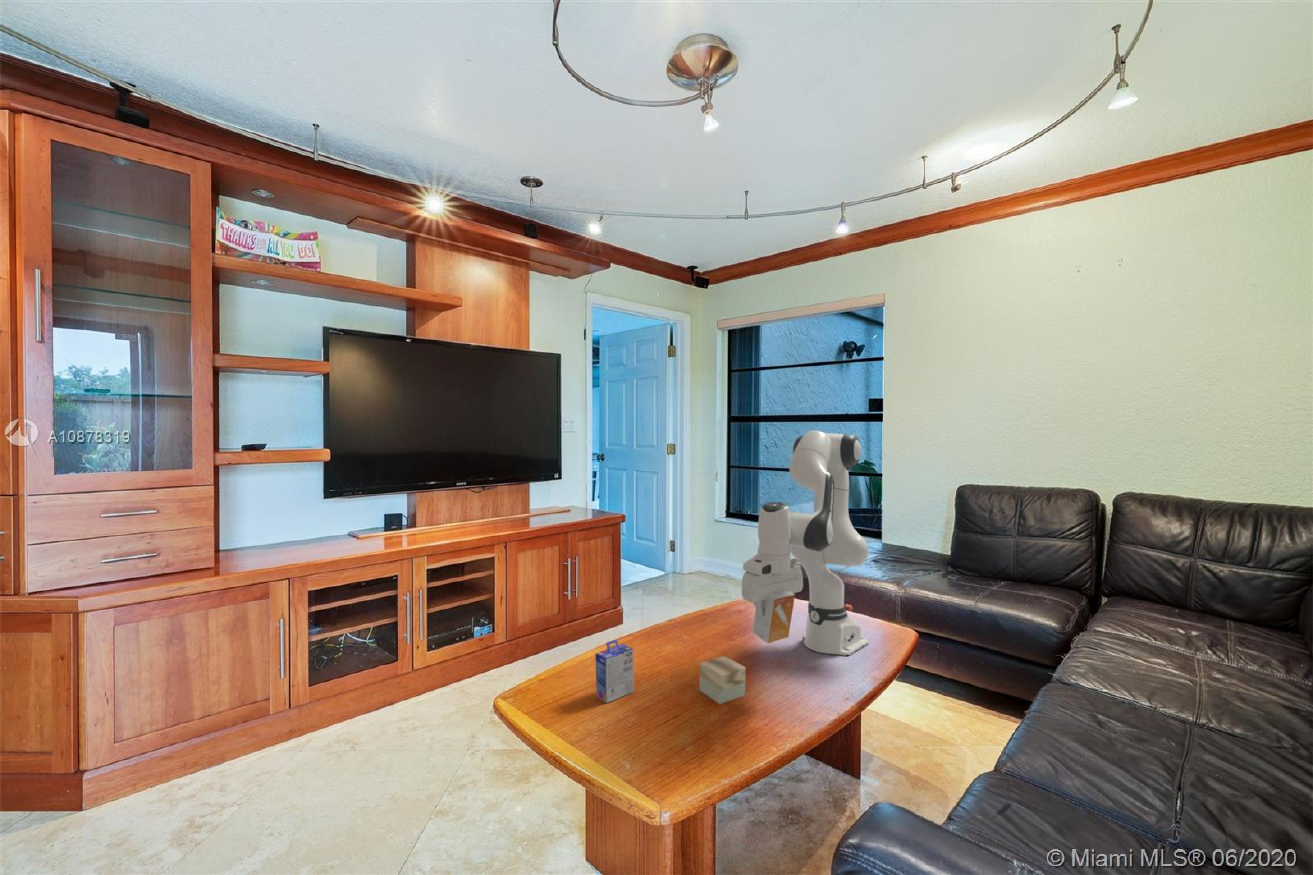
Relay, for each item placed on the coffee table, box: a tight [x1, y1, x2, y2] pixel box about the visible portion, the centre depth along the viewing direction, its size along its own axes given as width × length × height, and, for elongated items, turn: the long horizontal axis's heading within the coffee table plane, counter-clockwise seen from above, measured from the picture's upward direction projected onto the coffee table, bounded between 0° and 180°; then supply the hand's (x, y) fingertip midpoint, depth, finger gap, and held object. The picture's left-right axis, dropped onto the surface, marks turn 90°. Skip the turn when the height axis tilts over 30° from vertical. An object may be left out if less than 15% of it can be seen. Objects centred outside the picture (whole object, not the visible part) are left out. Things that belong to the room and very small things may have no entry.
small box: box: [752, 590, 796, 644], centre depth 150 cm, size 8×6×13 cm
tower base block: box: [699, 677, 746, 705], centre depth 153 cm, size 9×9×4 cm
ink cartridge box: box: [595, 639, 635, 704], centre depth 151 cm, size 10×6×14 cm, turn 132°
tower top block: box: [699, 655, 747, 691], centre depth 153 cm, size 9×9×4 cm
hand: (773, 612), depth 151 cm, fingers closed on small box, 8 cm apart
